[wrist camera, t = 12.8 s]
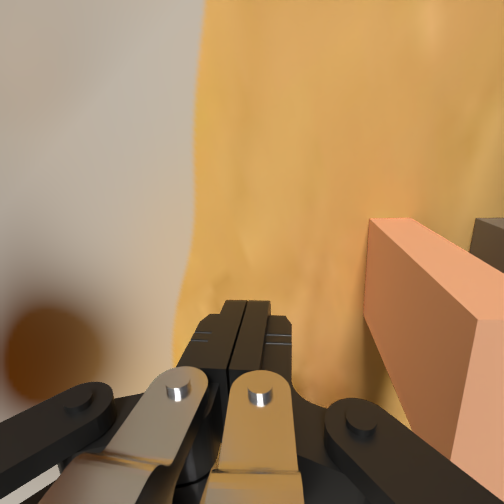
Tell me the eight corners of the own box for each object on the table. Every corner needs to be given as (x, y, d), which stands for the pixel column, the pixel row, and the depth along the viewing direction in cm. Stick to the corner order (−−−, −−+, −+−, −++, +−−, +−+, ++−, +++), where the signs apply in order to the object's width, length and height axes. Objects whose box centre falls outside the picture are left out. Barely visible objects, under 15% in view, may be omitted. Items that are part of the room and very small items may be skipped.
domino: (369, 218, 15) (478, 319, 6) (410, 217, 14) (583, 321, 6) (363, 314, 16) (442, 500, 8) (400, 315, 16) (524, 508, 7)
